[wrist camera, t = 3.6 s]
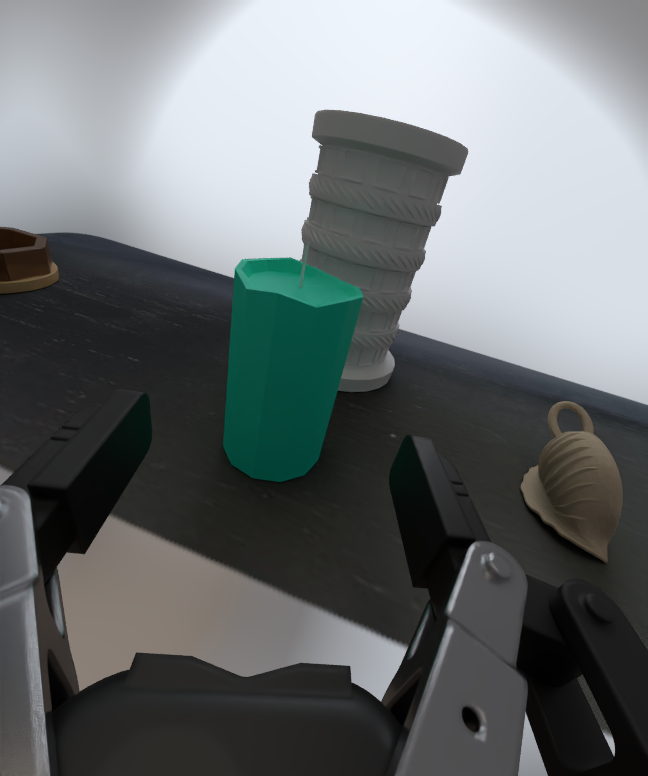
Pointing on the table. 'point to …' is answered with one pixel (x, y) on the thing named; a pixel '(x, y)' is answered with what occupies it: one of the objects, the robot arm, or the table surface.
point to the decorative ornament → (576, 485)
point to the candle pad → (25, 262)
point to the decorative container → (375, 222)
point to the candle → (284, 364)
